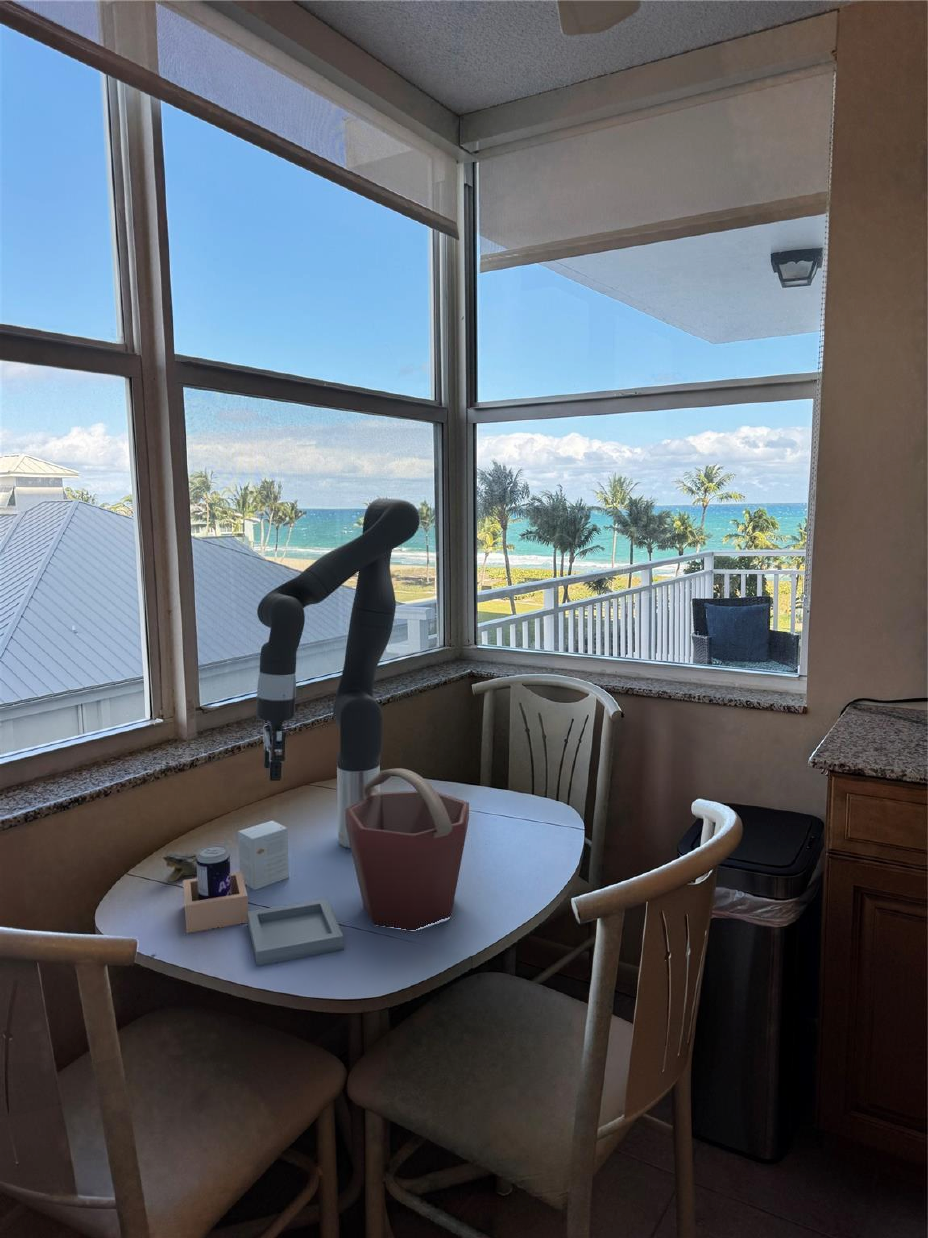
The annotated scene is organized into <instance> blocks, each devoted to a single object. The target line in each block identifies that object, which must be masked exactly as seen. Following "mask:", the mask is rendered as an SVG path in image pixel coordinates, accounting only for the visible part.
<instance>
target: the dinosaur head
mask: <svg viewBox="0 0 928 1238" xmlns="http://www.w3.org/2000/svg"><path fill="white" fill-rule="evenodd" d="M197 857H198V855H197V854H196V853H188V854H183V855H182V854H181V855H180V854H176V853H175V854H174V853H173V854H169V855H164V856H163V857H162V859H163V860H164V861H165V862H166V867H169V868H174V869H173V871H172V872H171V874H169V877H168V878H167V881H168V882H170V883H173V882H175V881H177V880H179V879H180V878H181V877H182V876H194V877H197Z"/></svg>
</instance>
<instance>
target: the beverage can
mask: <svg viewBox="0 0 928 1238" xmlns="http://www.w3.org/2000/svg"><path fill="white" fill-rule="evenodd" d="M230 873H231V856H230V853H229V851H228V848H227V846H224V845H217V844H216V845H209V846H206V847H202V848H201V849H200V850H199V851H198V855H197V876H196V878H197V879H198V900H205V899H211V898H217V897H223V896H230V895H231V874H230Z"/></svg>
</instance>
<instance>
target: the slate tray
mask: <svg viewBox="0 0 928 1238" xmlns="http://www.w3.org/2000/svg"><path fill="white" fill-rule="evenodd" d="M247 916H248V923H247V927H248V928H247V929H248V931H249V935H250V940H251V945H252V950H253V955H254V958H255V962H256V966H257V967H258V966H264V965H269V964H274V963H279V962H286V961H290V960H295V959H300V958H301V959H302V958H306V957H311V956H316V955H321V954H326V953H327V954H328V953H332V952H338V951H342V950H344V949H345V948H344V946H345V945H344V944H345V943H344V933H343V932H342V930H341V928H340V925H339V923H338V920H337V919H336V916H335V914H334V912H333V909H332V907H331V905H330V902H329V901H328V899H327V898H323V899H322V898H321V899H317V900H310V901H305V902H298V903H293V904H286V905H280V906H274V907H269V908H262V909H257V910H252V911H251V910H249V911H248V912H247Z"/></svg>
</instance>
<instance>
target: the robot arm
mask: <svg viewBox="0 0 928 1238" xmlns="http://www.w3.org/2000/svg"><path fill="white" fill-rule="evenodd" d="M420 519H421V518H420V513H419V510H418V509H417V507H416V505H414V504H413V503H411V502H410V501H407V500H405V499H397V498H388V497H386V498H385V497H381V498H376V499H375V500H373V501H371V503H370V504H368V506H367V508H366V510H365V513H364V517H363V523H362V534H360V535H359V536H357V537H355V538H354V539H353V540H351V541H349V542H346V543H344V544H342V545H340V546H338V547H337V548H334V549H333V550H331V551H329V552H327V553H325V554H323V555H322V556H321V557H319V558H318V559H317V560H316V561H314V562H313V563H312V564H310V565H309V566H308V567H307V568H305V569H304V570H303V571H302V572H301V573H299V575H297V576H296V577H294V578H292V579H290V580H288V581H286V582H284V583H282V584H281V585H279V586H278V587H276V588H273V589H272V590H271V591H269V592H268V593H267V594H265V596H263V598H262V599H261V600H260V601H259V603H258V605H257V610H256V611H257V613H256V614H257V618H258V620H259V622H260V623H261V624H262V625H263V626H265V627H267V628H270V631H269V636H268V641H267V642H265V643H264V644H263V645H262V646H261V650H260V656H259V657H260V658H259V671H258V673H259V674H258V679H257V684H256V685H257V687H256V705H255V706H256V707H255V708H256V710H255V716H256V718H258V719H259V720H261V721H263V728H262V732H263V735H262V743H263V746H262V747H263V750H264V757H263V758H264V759H263V760H264V762H263V767H264V768H265V769H269V771H268V774H269V775H268V779H269V781H270V782H272V781H273V782H277V781H278V782H279V781H280V780H281V779H282V766H283V765H282V763H283V762H285V760H286V753H285V752H286V737H287V731H286V730H287V729H286V728H285V726H284V722H286V721H287V722H288V721H291V720H293V719H294V718H295V712H296V710H295V709H296V698H297V697H296V695H297V678H296V673H297V672H296V671H297V670H296V669H297V651H298V649H299V646H300V642H301V639H302V635H303V632H304V626H305V620H306V619H305V618H306V616H305V615H306V614H305V610H304V609H305V608H306V607H308V606H311V605H317V604H319V603H321V602H322V601H324V600H325V599H327V598H328V597H329V596H331V595H332V594H333V593H334V592H335V591H336V590H337V589H339V588H340V587H341V586H343V584H345V583H346V582H347V581H349V579H351V578H352V577H353V576H355V575H356V574H357V581H356V587H355V593H354V597H353V602H352V607H351V613H350V618H349V624H348V626H349V627H348V633H347V639H346V645H345V656H344V663H343V669H342V673H341V677H340V680H339V684H338V686H337V691H336V694H335V698H334V701H333V705H332V716H333V719H334V721H335V722H336V725H337V726H338V727H339V733H340V734H339V738H340V739H339V743H340V744H339V747H340V748H339V751H338V752H337V755H336V775H337V776H336V777H337V778H336V779H337V783H336V784H337V822H338V823H337V825H338V828H337V829H338V830H337V831H338V832H337V833H338V834H337V836H338V843H339V845H340V846H342V847H344V848H348V849H351V847H350V842H349V838H348V833H347V829H346V818H345V809H347V808H349V807H351V806H353V805H355V804H357V803H359V802H361V801H363V800H365V799H366V798H365V796H364V793H363V787H364V785H366V784H367V783H368V782H369V781H371V780H372V779H373V778H374V777H376V776H377V775H378V774H379V773H380V772H381V769H380V767H381V764H380V761H381V758H380V757H381V755H382V753H383V727H384V726H383V724H384V723H383V713H382V708H381V706H380V704H379V703H378V701H376V699H374V698H373V696H374V695H373V694H374V685H375V678H376V677H375V676H376V671H377V668H378V665H379V662H380V661H381V659H382V657H383V655H384V652H385V650H386V648H387V647H388V644H389V641H390V639H391V636H392V631H393V628H394V627H393V626H394V621H395V616H396V608H397V607H396V606H397V603H396V595H395V589H394V584H393V579H392V574H391V560H392V559H391V558H392V554H393V553H392V552H393V550H394V549H395V548H398V547H400V546H401V545H403V544H404V543H406V542H408V541H410V539H412V538H414V536H415V534H417V532H418V529H419V527H420V522H421V520H420ZM277 752H279V754H277ZM374 787H375V789H376V790H377V792H378V793H381V784H379V785H376V786H374Z"/></svg>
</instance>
